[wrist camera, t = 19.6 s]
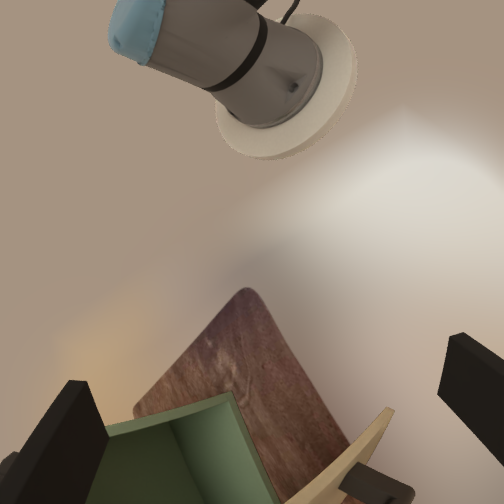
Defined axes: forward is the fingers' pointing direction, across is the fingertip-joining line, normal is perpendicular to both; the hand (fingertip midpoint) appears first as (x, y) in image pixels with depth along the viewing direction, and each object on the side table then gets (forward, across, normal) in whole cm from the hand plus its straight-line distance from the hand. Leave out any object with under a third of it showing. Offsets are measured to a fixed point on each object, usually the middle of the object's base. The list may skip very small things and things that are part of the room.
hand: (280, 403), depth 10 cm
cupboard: (+24, -6, -34) cm, 42 cm away
